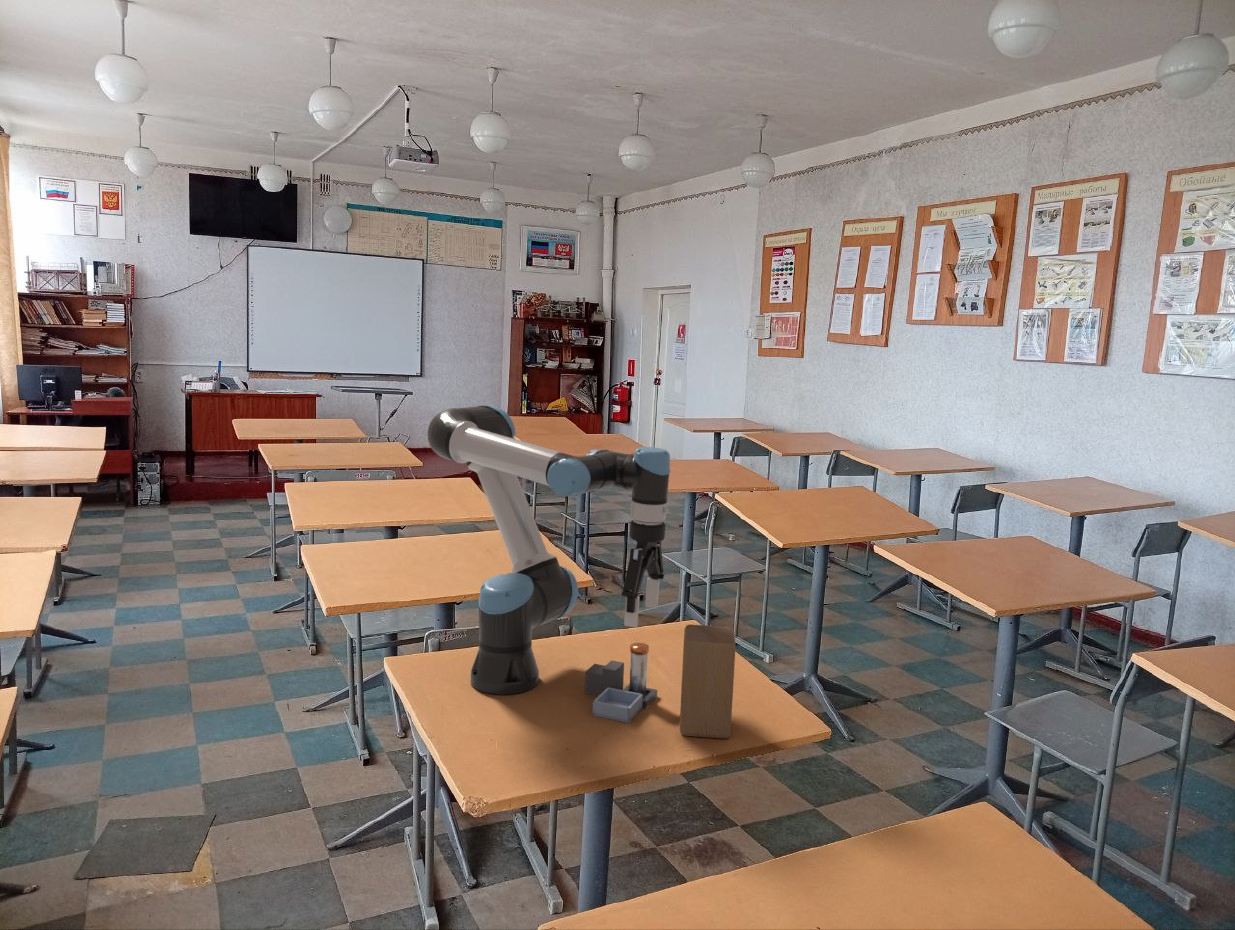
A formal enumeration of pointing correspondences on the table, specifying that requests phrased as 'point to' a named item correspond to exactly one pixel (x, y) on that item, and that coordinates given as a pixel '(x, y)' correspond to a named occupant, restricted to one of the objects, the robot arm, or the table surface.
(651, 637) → the table surface
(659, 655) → the table surface
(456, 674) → the table surface
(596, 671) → the dark grey stepped piece
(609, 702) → the tray
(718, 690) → the block
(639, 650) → the pin
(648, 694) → the socket
